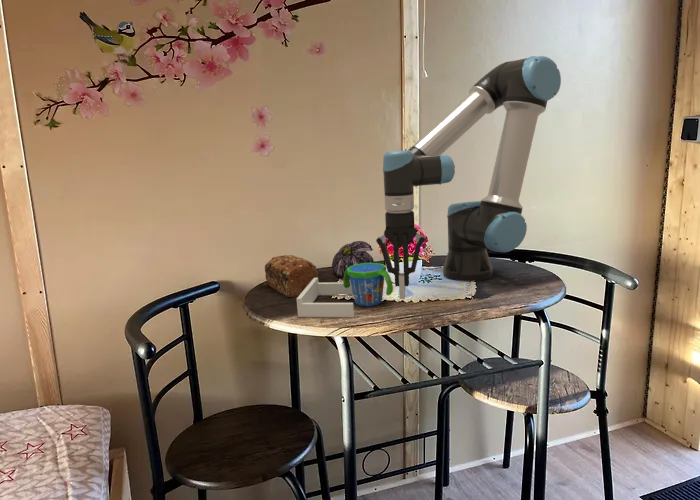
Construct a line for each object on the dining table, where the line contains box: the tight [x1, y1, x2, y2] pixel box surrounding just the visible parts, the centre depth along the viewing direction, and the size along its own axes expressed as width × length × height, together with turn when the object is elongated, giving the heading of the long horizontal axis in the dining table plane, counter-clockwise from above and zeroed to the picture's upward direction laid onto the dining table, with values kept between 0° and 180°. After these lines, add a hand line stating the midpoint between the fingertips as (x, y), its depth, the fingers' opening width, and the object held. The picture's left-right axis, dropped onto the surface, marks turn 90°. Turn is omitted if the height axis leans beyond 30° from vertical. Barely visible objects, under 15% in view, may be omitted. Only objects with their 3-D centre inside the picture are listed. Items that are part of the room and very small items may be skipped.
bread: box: [264, 254, 319, 298], centre depth 167 cm, size 19×11×10 cm, turn 28°
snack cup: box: [342, 262, 394, 308], centre depth 149 cm, size 16×10×10 cm
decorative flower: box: [331, 240, 375, 280], centre depth 179 cm, size 14×12×15 cm
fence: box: [296, 277, 355, 318], centre depth 150 cm, size 15×20×5 cm
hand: (402, 297), depth 147 cm, fingers closed
